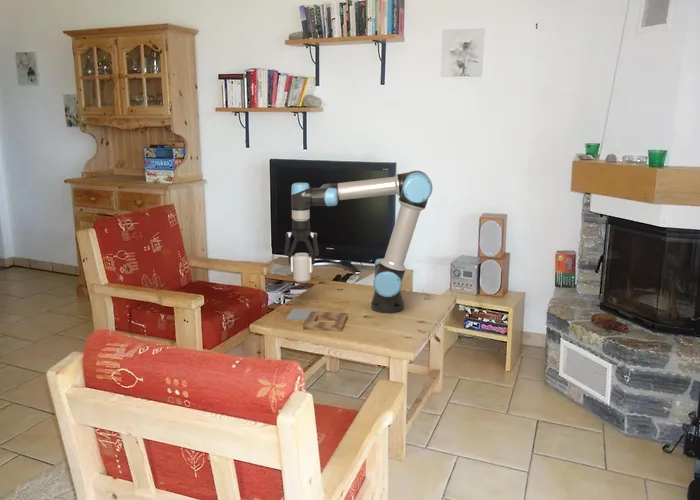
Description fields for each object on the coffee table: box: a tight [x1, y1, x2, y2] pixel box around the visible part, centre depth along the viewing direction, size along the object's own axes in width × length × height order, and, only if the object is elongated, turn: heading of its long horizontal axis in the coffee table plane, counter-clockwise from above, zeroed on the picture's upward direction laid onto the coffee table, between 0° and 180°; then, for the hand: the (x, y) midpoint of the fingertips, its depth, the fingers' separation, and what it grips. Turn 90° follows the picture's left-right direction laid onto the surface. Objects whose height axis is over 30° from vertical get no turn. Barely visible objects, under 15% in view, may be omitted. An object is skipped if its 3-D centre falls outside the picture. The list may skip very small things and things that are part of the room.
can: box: [292, 252, 312, 283], centre depth 255 cm, size 8×8×12 cm
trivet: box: [286, 308, 320, 321], centre depth 260 cm, size 12×12×1 cm
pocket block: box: [302, 311, 349, 332], centre depth 250 cm, size 16×16×2 cm
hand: (301, 271), depth 256 cm, fingers closed on can, 7 cm apart
